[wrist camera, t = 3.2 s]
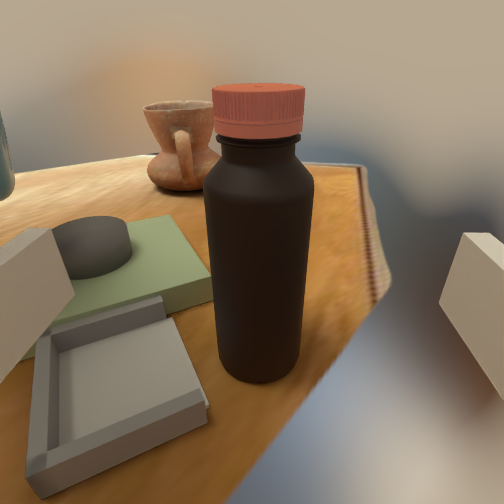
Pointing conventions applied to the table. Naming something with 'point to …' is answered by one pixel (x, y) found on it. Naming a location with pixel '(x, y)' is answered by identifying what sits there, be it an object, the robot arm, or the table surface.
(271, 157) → the vinegar
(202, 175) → the ceramic jug
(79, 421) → the green slab with knob
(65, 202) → the table surface
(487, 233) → the robot arm
